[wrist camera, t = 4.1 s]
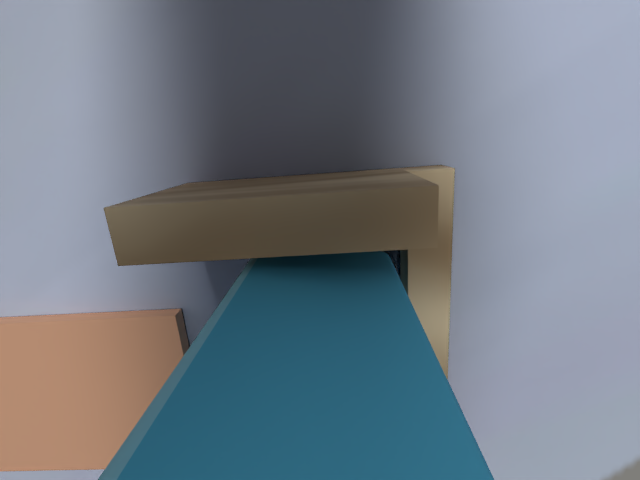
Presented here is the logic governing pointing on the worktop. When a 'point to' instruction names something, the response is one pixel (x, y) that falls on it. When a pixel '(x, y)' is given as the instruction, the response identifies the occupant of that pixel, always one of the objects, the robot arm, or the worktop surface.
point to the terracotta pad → (80, 383)
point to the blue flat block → (306, 385)
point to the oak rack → (306, 227)
